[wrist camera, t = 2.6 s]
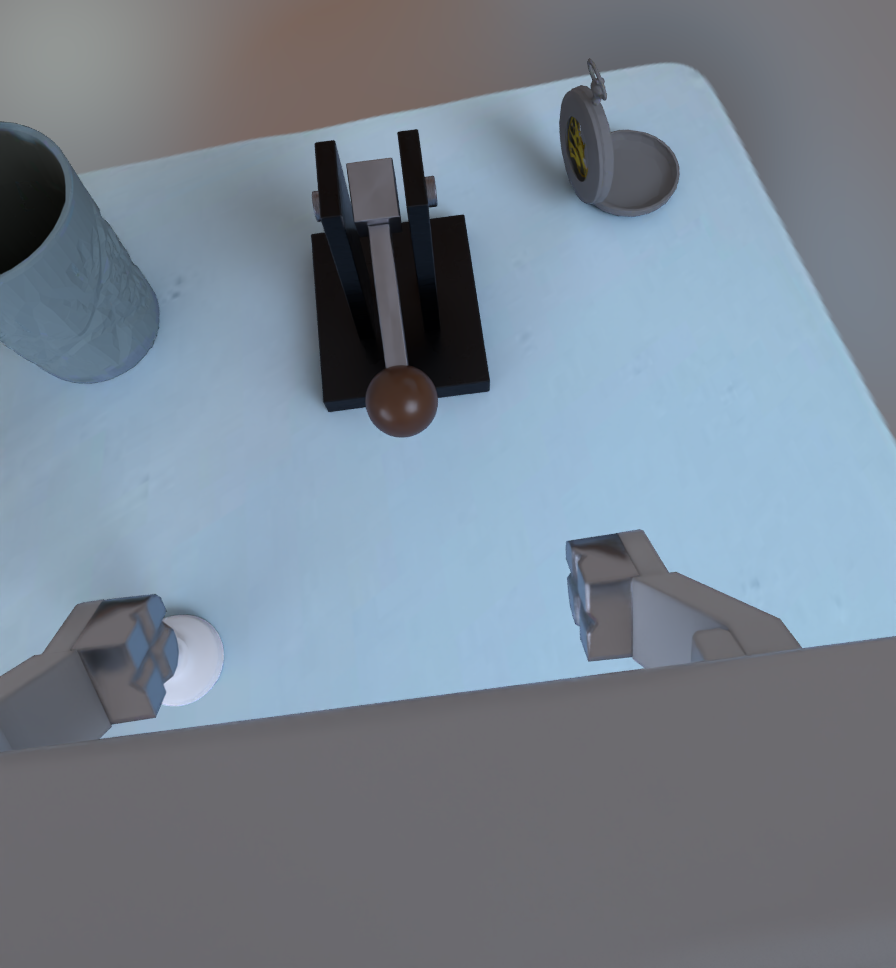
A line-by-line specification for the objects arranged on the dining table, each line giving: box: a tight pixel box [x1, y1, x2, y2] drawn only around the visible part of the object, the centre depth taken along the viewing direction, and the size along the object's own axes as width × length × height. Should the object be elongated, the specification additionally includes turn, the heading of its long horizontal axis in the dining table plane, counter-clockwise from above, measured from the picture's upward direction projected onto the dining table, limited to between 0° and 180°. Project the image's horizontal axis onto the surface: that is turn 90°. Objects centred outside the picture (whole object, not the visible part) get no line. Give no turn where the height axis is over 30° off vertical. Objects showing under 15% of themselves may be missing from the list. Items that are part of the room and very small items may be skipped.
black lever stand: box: [311, 129, 490, 412], centre depth 39 cm, size 12×10×13 cm
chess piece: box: [162, 615, 224, 706], centre depth 34 cm, size 5×5×10 cm
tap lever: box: [346, 158, 438, 437], centre depth 35 cm, size 13×4×4 cm, turn 7°
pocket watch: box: [559, 59, 680, 217], centre depth 43 cm, size 8×8×10 cm
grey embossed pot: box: [0, 122, 159, 383], centre depth 40 cm, size 10×10×12 cm
